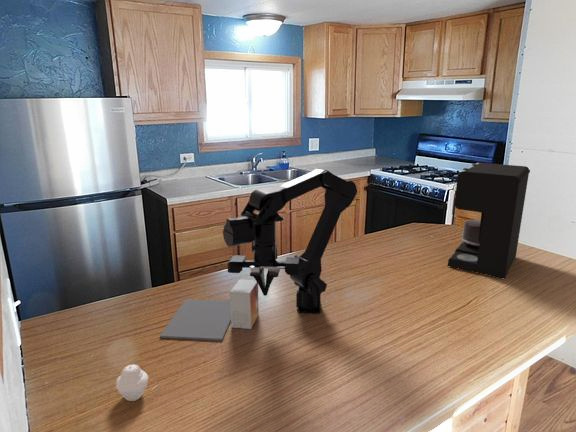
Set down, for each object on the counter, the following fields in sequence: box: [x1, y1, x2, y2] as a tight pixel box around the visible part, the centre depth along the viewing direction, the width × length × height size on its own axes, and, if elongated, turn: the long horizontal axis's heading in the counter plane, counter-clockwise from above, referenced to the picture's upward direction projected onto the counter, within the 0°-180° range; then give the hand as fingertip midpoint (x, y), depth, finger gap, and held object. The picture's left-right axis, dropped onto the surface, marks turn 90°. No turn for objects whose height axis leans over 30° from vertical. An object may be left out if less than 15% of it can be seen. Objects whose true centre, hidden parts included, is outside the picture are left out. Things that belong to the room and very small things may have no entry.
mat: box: [159, 298, 231, 342], centre depth 113 cm, size 16×20×1 cm
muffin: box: [115, 364, 149, 402], centre depth 83 cm, size 6×6×7 cm
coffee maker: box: [447, 162, 531, 280], centre depth 149 cm, size 28×20×35 cm
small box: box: [229, 279, 260, 330], centre depth 111 cm, size 8×6×10 cm
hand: (265, 294), depth 109 cm, fingers closed
